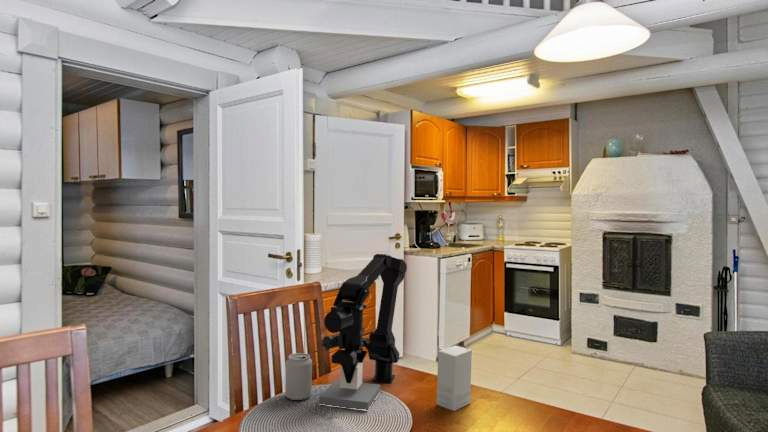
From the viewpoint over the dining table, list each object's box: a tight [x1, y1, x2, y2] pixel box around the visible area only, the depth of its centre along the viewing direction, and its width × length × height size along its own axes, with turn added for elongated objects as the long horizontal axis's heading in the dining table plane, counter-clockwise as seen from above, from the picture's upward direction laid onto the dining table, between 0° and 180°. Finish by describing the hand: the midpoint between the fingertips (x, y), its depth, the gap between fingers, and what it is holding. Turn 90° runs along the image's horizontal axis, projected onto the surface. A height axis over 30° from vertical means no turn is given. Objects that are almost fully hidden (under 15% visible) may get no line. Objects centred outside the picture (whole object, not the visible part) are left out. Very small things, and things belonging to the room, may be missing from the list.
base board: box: [318, 379, 382, 410], centre depth 133 cm, size 14×14×2 cm
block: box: [339, 362, 364, 389], centre depth 133 cm, size 5×5×6 cm
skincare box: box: [436, 345, 473, 412], centre depth 131 cm, size 8×7×16 cm
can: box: [284, 352, 313, 401], centre depth 134 cm, size 8×8×12 cm
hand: (351, 379), depth 133 cm, fingers closed on block, 5 cm apart
